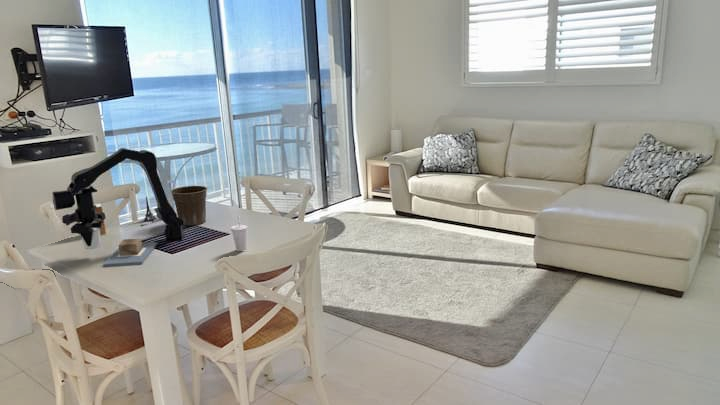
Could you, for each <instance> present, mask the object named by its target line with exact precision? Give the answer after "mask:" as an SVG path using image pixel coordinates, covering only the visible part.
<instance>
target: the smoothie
mask: <svg viewBox="0 0 720 405" xmlns="http://www.w3.org/2000/svg"><path fill="white" fill-rule="evenodd" d="M240 217H241V216H240V215H238V217H237V218H238V224H236V225H233V226H231V227H230V231H231V232H232V236H233V240H234V242H233V243H234V245H235V250H236V252H238V251H243V250H245V251H247V237H248V236H247V232H248V231H247V230H248V226H247V225H245V224H241V219H240ZM243 252H244V251H243Z"/></svg>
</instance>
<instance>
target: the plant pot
mask: <svg viewBox="0 0 720 405" xmlns="http://www.w3.org/2000/svg"><path fill="white" fill-rule="evenodd" d="M207 190H208V187H207V186H204V185H188V186H186V185H185V186H181V187H175V188H173V189H171V190H170V193H171V195H172V200H173V201H174V206H175V209H176V214H177V217H178V218H179V219H181V220H182V221H183V226H188V227H190V226H199V225H201V224H204V223H205V222H206V221H207V220H206V217H207V216H206V215H207V214H206V208H207V207H206V204H207V203H206V201H207V200H206V199H207V198H206V197H207Z"/></svg>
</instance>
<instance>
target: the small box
mask: <svg viewBox="0 0 720 405" xmlns="http://www.w3.org/2000/svg"><path fill="white" fill-rule="evenodd" d="M94 205H96V208H95V212H103V206H102V205H101V203H100V202H99V203H95V204H94ZM103 213H104V212H103ZM99 221H103V223H102V226H101V229H100V236H101V235H106V234H107V231H106V224H105V219H104V220H101V218H100V219H99Z"/></svg>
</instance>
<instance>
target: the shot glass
mask: <svg viewBox="0 0 720 405" xmlns="http://www.w3.org/2000/svg"><path fill="white" fill-rule="evenodd" d="M92 229H94V231H93V237H92V243H91V246H87V244H86V242H85V241H84V239H83V237H82V236H81V239H82V242H83V246H84V249H85V250H95V249H98V248H101V246H102V241H101V240H102V239H101V235H100V228H92Z"/></svg>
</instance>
